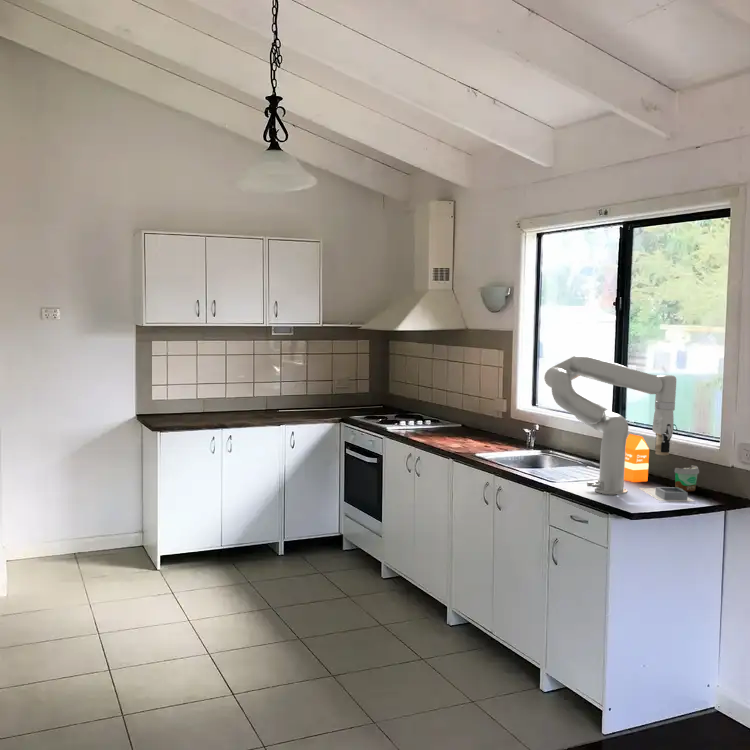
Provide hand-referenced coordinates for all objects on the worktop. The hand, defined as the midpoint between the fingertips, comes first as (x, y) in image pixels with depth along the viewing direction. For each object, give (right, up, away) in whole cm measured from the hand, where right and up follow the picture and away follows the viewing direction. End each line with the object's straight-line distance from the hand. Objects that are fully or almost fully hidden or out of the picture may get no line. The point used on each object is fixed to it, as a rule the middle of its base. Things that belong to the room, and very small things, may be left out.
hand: (662, 450), depth 330 cm
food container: (+13, -17, +5) cm, 22 cm away
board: (0, -18, -5) cm, 18 cm away
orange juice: (-4, -16, +23) cm, 28 cm away
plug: (0, -1, 0) cm, 1 cm away
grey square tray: (0, -18, -10) cm, 20 cm away
